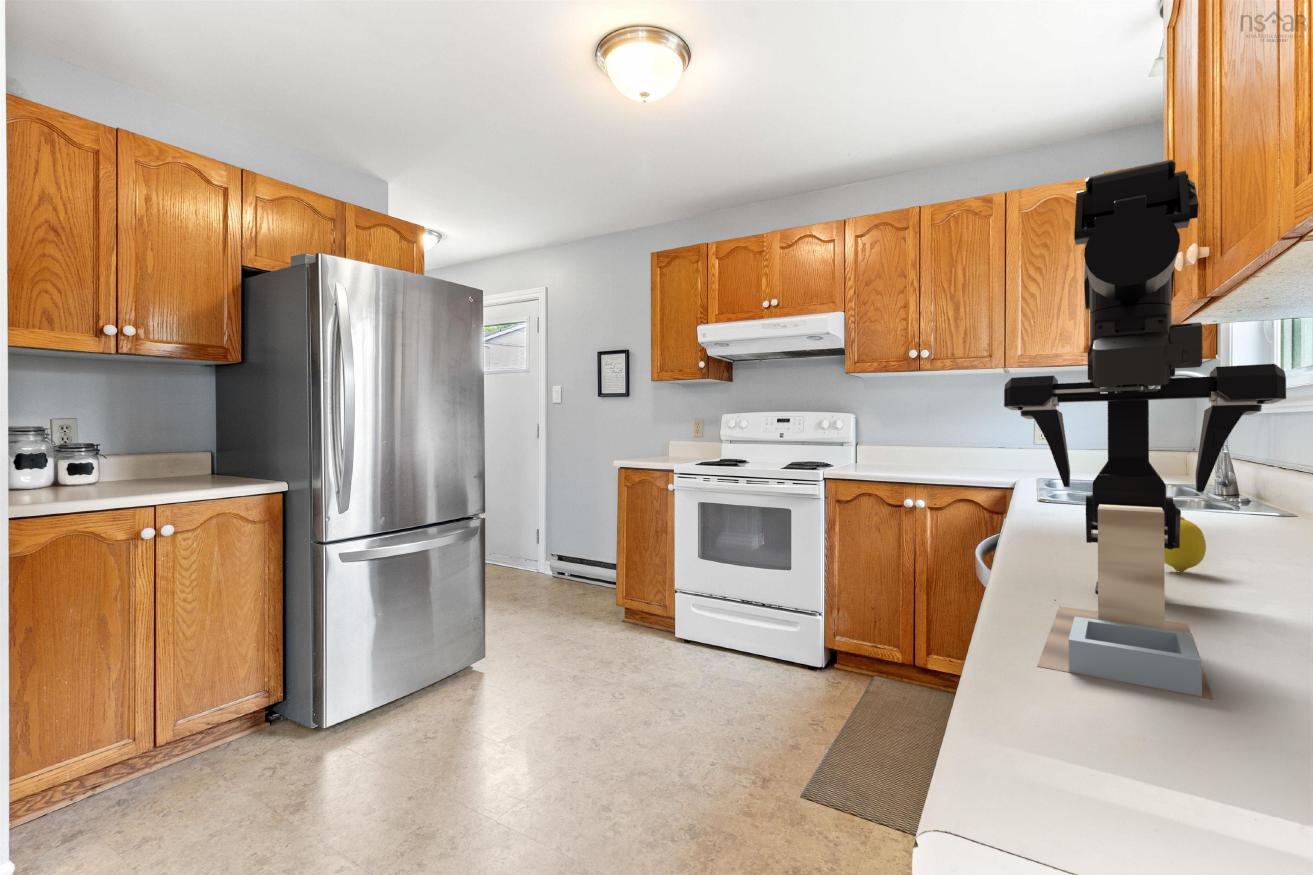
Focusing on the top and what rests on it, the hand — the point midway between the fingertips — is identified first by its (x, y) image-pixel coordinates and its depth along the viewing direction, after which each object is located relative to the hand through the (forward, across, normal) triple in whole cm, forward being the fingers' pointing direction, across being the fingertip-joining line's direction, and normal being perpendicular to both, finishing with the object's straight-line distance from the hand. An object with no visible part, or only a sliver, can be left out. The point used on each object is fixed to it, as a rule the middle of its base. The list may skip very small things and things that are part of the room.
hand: (1129, 489), depth 54 cm
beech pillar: (+14, 0, +1) cm, 14 cm away
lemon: (+14, +6, +48) cm, 50 cm away
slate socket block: (+14, 0, -6) cm, 15 cm away
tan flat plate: (+15, -1, +1) cm, 15 cm away
